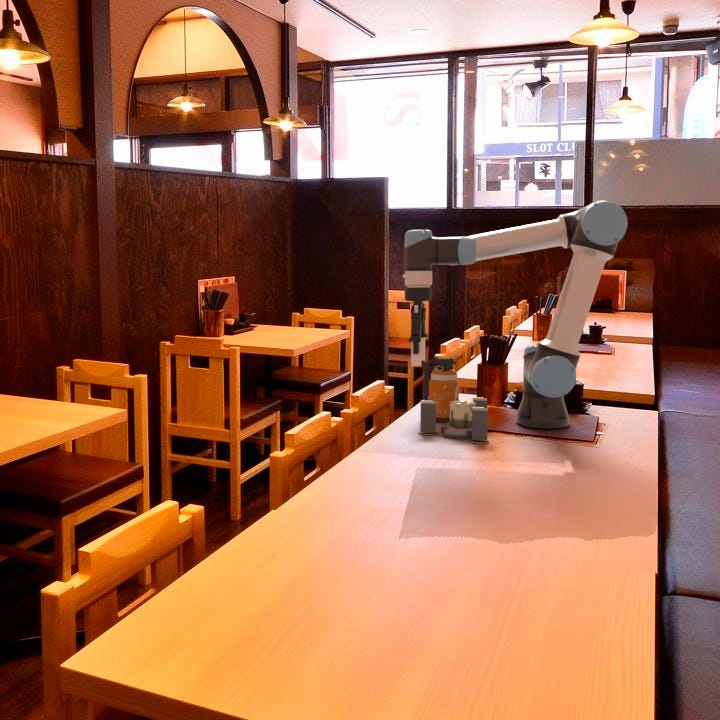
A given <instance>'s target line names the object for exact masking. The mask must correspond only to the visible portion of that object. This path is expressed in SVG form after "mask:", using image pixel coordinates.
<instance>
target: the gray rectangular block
mask: <svg viewBox="0 0 720 720" xmlns="http://www.w3.org/2000/svg"><path fill="white" fill-rule="evenodd" d="M488 411H489V408H488V407H487V408H484V407H472V440H483V441H487V440H488V419H489V412H488Z"/></svg>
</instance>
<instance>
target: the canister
mask: <svg viewBox="0 0 720 720" xmlns="http://www.w3.org/2000/svg"><path fill="white" fill-rule="evenodd" d="M432 363H433V364H432ZM457 363H458V360H456V359H454V357H450V358H449V357H445V358H444V357H437V356H434V357H432V358H430V360H428V361H425V362H424V363H422V364H421V367H422V369H423V374H424V375H423V400H424V401H432V402H436V424H439V425H441V424H443V423H448V422H450V402H452V401H460V400H459V398H460V381H459V380H458V372H457V370H455V369H451V367H453V366H454V365H456V364H457ZM431 364H432V365H431ZM429 365H431V366H429ZM430 372H431V373H430Z"/></svg>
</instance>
